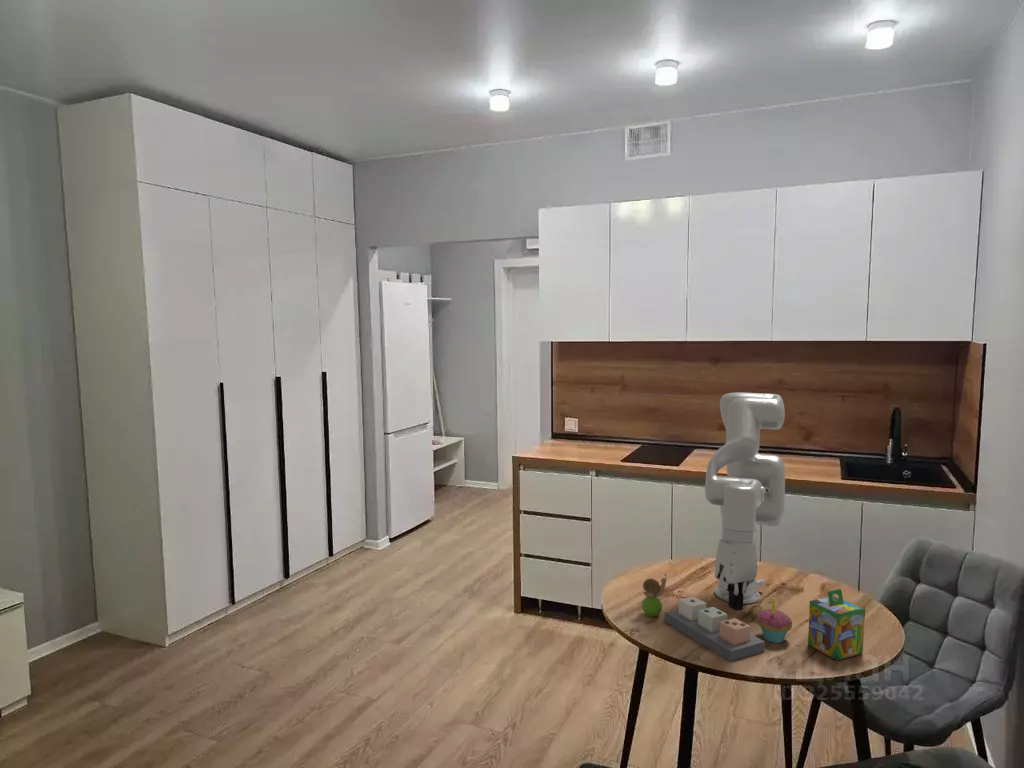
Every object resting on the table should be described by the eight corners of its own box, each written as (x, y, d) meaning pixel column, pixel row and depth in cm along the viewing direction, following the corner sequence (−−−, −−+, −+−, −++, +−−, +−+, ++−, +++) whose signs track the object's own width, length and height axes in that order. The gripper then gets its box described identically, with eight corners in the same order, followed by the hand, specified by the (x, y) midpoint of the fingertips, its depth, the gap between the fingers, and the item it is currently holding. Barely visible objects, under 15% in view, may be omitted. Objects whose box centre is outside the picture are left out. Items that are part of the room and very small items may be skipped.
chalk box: (837, 662, 158) (840, 601, 157) (806, 644, 167) (808, 587, 165) (864, 654, 162) (867, 595, 161) (832, 638, 170) (835, 582, 169)
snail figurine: (665, 621, 179) (667, 577, 178) (641, 618, 180) (642, 575, 179) (665, 612, 185) (666, 570, 183) (641, 610, 186) (642, 568, 185)
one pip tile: (678, 613, 179) (678, 598, 178) (692, 610, 181) (693, 595, 180) (691, 621, 174) (691, 605, 174) (705, 617, 176) (706, 602, 176)
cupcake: (787, 649, 164) (790, 602, 163) (752, 640, 168) (753, 594, 167) (793, 635, 171) (796, 590, 170) (759, 627, 176) (761, 583, 175)
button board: (664, 621, 179) (664, 612, 179) (695, 613, 184) (696, 604, 184) (731, 661, 158) (731, 651, 158) (764, 651, 163) (764, 641, 163)
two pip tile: (698, 625, 172) (698, 609, 172) (712, 621, 174) (713, 605, 174) (712, 633, 167) (712, 617, 167) (726, 629, 170) (727, 613, 169)
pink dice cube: (719, 637, 165) (719, 621, 165) (734, 633, 168) (734, 617, 167) (734, 646, 161) (735, 629, 160) (749, 641, 163) (750, 625, 163)
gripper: (748, 527, 168) (746, 598, 170) (704, 534, 162) (701, 608, 163) (772, 535, 162) (769, 609, 163) (726, 542, 155) (724, 619, 156)
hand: (735, 608), depth 163 cm, fingers closed
